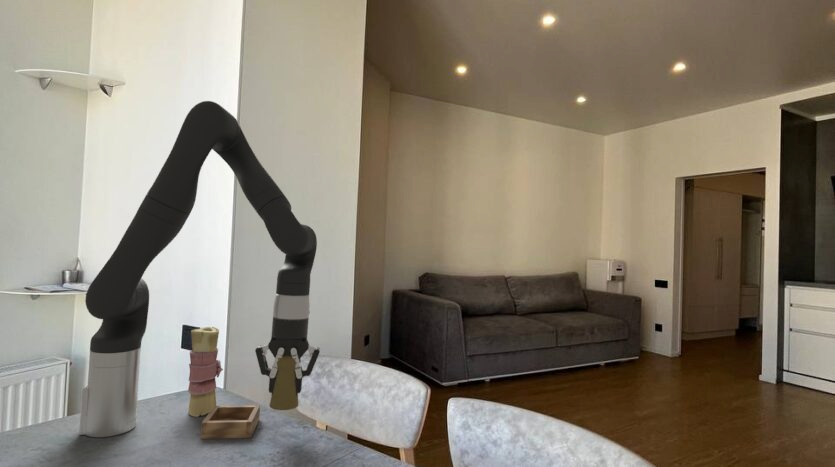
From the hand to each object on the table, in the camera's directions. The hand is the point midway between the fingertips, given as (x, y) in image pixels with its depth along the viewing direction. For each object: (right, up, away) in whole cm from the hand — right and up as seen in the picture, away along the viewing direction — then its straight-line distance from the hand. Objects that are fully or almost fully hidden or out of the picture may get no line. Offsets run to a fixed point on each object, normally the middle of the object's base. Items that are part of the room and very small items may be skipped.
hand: (285, 394), depth 97 cm
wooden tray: (-13, -9, +3) cm, 16 cm away
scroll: (-23, -9, +12) cm, 28 cm away
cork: (0, -3, 0) cm, 3 cm away
